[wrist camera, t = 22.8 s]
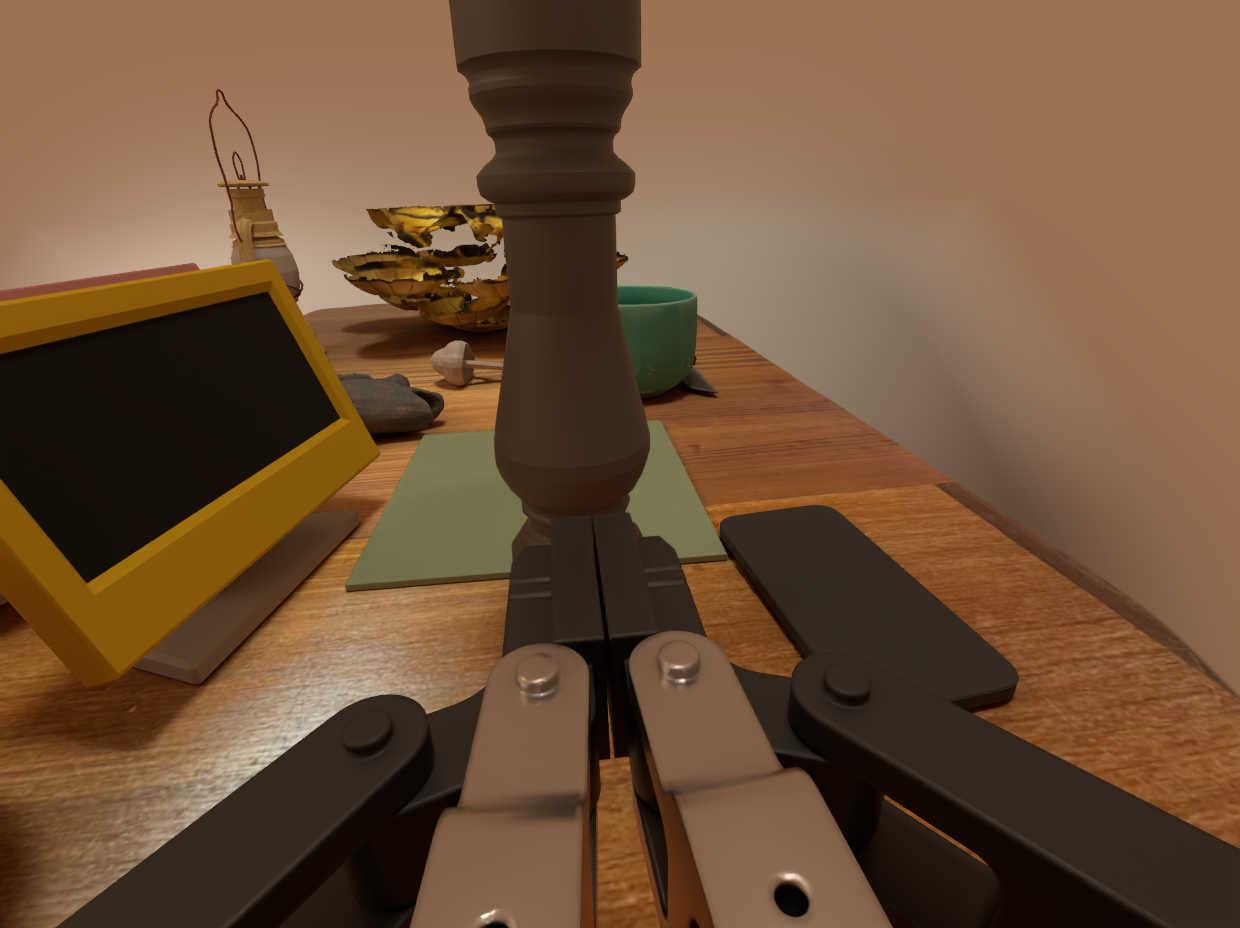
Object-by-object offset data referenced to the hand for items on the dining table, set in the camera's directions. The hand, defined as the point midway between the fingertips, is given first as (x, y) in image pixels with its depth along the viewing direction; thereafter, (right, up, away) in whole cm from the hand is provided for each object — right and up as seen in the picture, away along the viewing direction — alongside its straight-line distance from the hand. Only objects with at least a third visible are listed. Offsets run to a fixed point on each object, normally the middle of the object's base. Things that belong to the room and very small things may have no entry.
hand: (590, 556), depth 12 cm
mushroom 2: (-14, +11, +55) cm, 57 cm away
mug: (0, +9, +50) cm, 51 cm away
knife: (+8, +11, +53) cm, 55 cm away
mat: (-5, 0, +30) cm, 30 cm away
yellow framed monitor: (-20, -5, +20) cm, 29 cm away
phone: (+11, -5, +18) cm, 22 cm away
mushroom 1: (-20, +23, +82) cm, 87 cm away
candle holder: (-1, -6, +16) cm, 17 cm away
